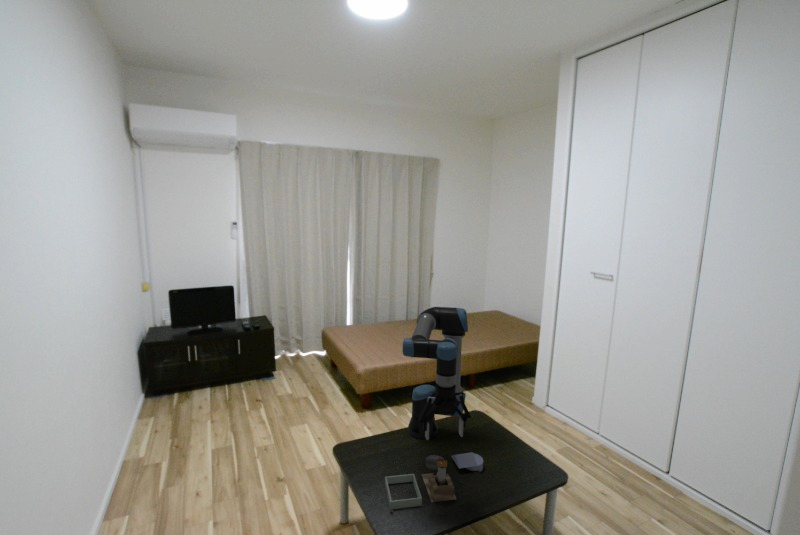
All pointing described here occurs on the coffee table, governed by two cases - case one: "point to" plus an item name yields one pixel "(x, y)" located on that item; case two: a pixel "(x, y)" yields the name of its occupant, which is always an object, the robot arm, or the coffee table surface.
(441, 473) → the lock pin
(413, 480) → the tray
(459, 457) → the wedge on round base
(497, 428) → the coffee table surface
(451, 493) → the block
